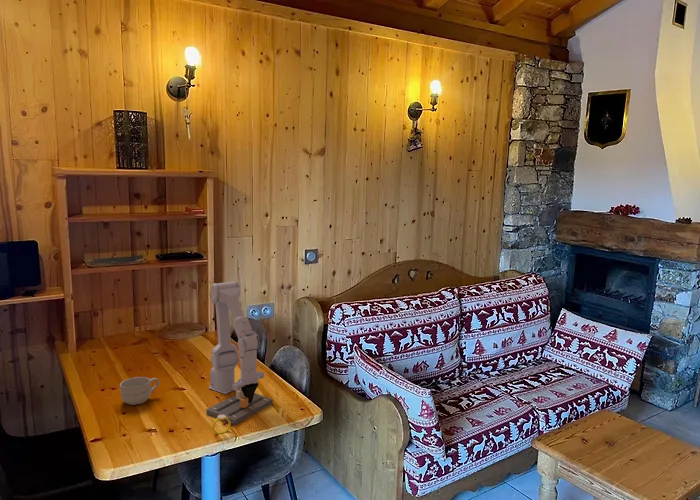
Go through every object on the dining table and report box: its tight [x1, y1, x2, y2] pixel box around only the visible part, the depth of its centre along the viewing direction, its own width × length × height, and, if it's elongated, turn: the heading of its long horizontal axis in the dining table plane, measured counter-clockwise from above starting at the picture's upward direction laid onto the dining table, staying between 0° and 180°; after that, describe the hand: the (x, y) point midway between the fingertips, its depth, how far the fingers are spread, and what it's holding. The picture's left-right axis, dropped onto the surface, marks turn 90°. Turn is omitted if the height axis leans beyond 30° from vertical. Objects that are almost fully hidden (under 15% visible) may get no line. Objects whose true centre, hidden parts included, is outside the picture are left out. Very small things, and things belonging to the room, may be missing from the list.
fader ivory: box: [235, 388, 244, 400], centre depth 196 cm, size 2×2×3 cm
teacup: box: [119, 376, 160, 406], centre depth 196 cm, size 14×11×8 cm
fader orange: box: [240, 397, 248, 408], centre depth 189 cm, size 2×2×3 cm
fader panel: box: [205, 393, 274, 426], centre depth 192 cm, size 14×20×2 cm
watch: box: [211, 415, 232, 435], centre depth 175 cm, size 6×3×6 cm, turn 122°
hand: (248, 402), depth 192 cm, fingers closed
